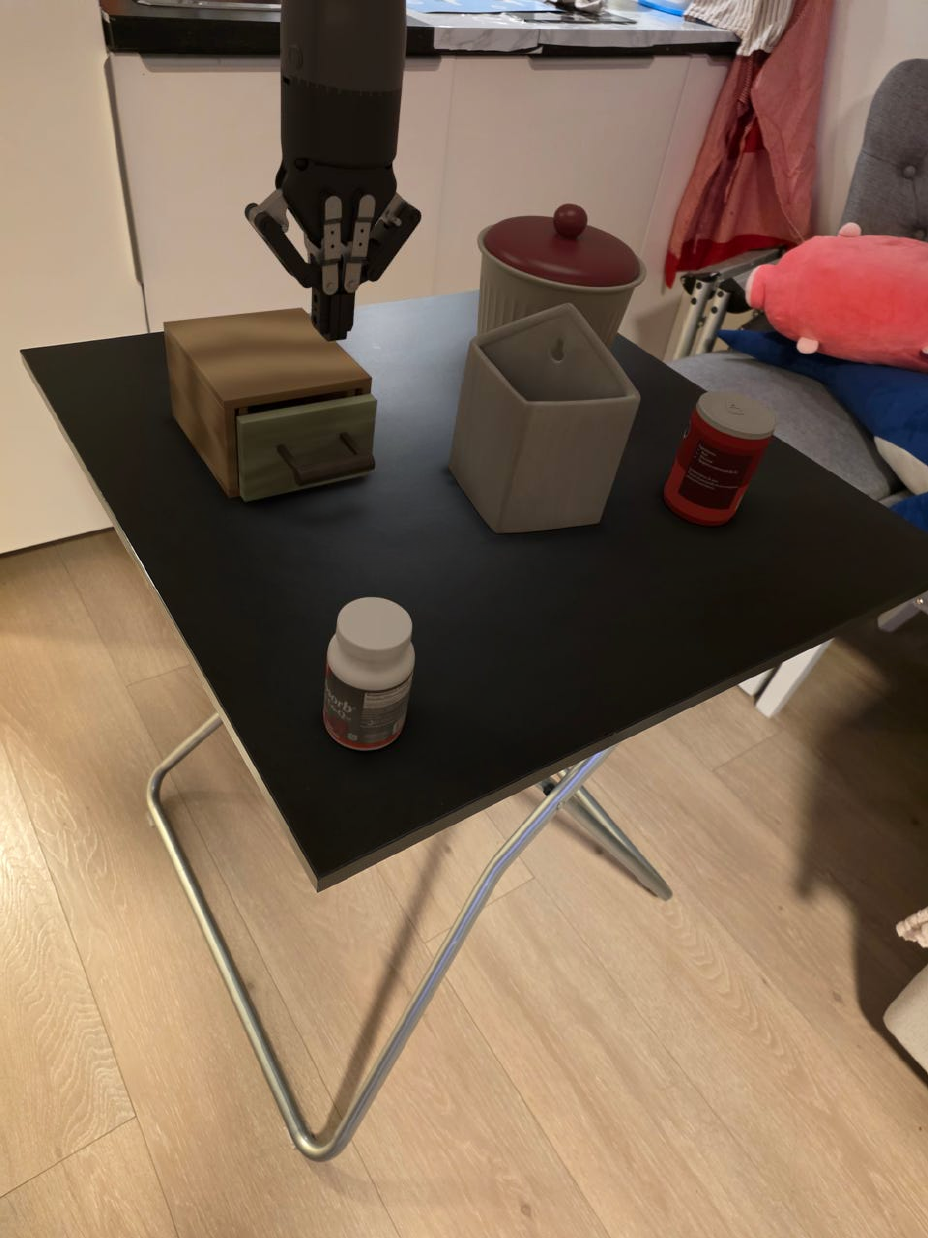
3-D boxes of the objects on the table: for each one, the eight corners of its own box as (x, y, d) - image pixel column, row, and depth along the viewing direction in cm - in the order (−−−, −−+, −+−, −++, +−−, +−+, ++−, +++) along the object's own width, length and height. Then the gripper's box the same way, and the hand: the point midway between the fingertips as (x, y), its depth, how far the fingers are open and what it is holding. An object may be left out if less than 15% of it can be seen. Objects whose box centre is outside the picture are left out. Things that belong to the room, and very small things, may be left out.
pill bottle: (310, 703, 57) (314, 601, 50) (383, 681, 59) (395, 581, 53) (342, 765, 54) (351, 665, 47) (417, 739, 56) (436, 640, 49)
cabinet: (365, 468, 79) (372, 377, 72) (229, 498, 72) (223, 400, 65) (300, 395, 87) (301, 306, 80) (172, 416, 80) (162, 321, 74)
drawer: (398, 505, 74) (407, 430, 68) (269, 537, 68) (268, 457, 62) (309, 403, 84) (310, 331, 79) (190, 424, 78) (183, 347, 73)
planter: (416, 503, 76) (445, 302, 63) (450, 464, 82) (482, 273, 68) (577, 564, 73) (642, 367, 60) (600, 520, 79) (664, 331, 65)
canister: (493, 343, 104) (527, 164, 89) (623, 391, 99) (681, 211, 85) (427, 396, 91) (454, 197, 77) (572, 454, 87) (630, 255, 73)
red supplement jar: (707, 480, 87) (748, 388, 80) (747, 525, 82) (794, 431, 75) (647, 484, 85) (682, 390, 77) (684, 531, 80) (726, 435, 72)
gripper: (404, 58, 55) (383, 306, 67) (215, 47, 48) (229, 324, 60) (464, 89, 51) (430, 348, 63) (266, 81, 44) (270, 371, 56)
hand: (331, 335), depth 61 cm, fingers closed
